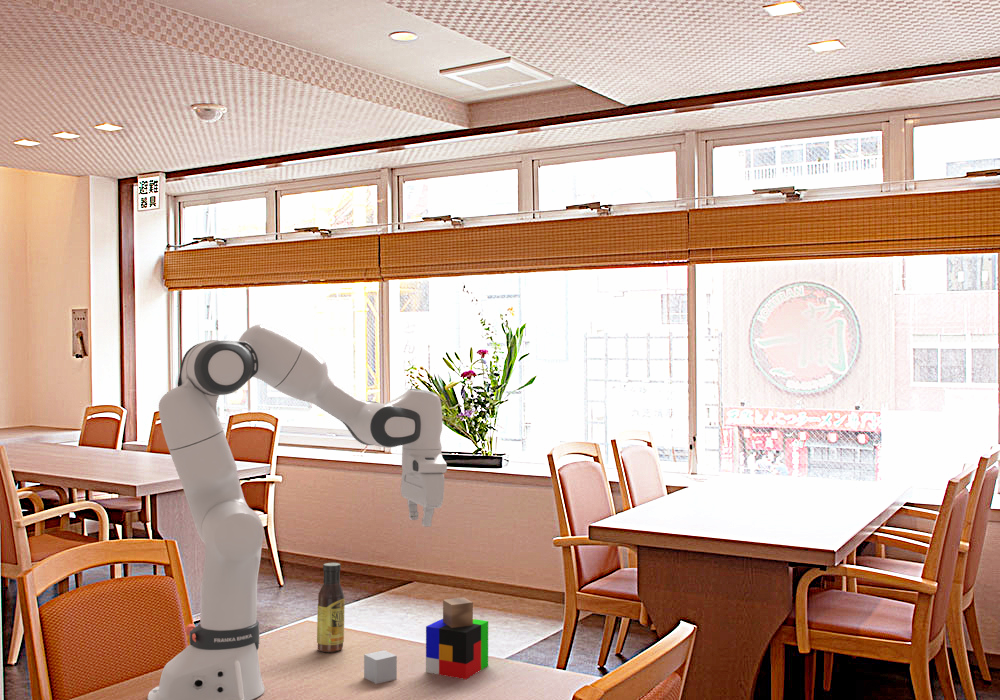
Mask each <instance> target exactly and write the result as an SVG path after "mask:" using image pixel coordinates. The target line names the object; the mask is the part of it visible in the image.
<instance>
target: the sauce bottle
mask: <svg viewBox="0 0 1000 700" xmlns="http://www.w3.org/2000/svg"><path fill="white" fill-rule="evenodd" d="M322 569H323V581H322V582H323V584H322V586H321V588H320V589H319V592H318V596H317V598H318V599H317V600H318V602H317V615H316V616H317V618H316V619H317V621H316V622H317V623H316V625H317V626H316V643H317V650H318V651H319V652H324V653H334V652H339V651H341V650H343V647H344V642H345V609H346V608H345V604H346V603H345V601H346V600H345V599H346V598H345V595H344V592H343V588H342V585H341V580H340V579H341V578H340V577H341V576H340V575H341V569H342V568H341V563H339V562H328V563H327V562H326V563H323V565H322Z"/></svg>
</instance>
